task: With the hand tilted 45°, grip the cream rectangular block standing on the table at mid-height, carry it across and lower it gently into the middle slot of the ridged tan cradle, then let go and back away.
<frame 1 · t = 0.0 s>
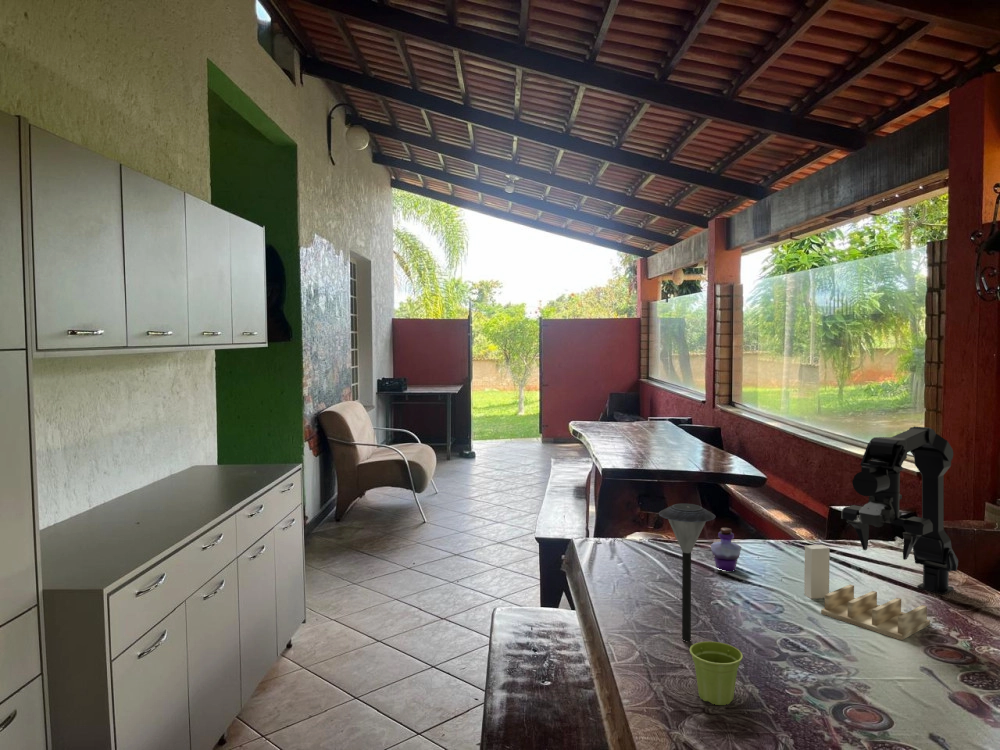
hand: (884, 554, 162), 15 cm above the table, tool pointing down, fingers open, 9 cm apart
plant pot: (715, 698, 125), on the table
solar garden light: (686, 641, 149), on the table
ridged tan cradle: (874, 619, 160), on the table
potion bottle: (725, 569, 196), on the table
cream rectangular block: (816, 596, 174), on the table
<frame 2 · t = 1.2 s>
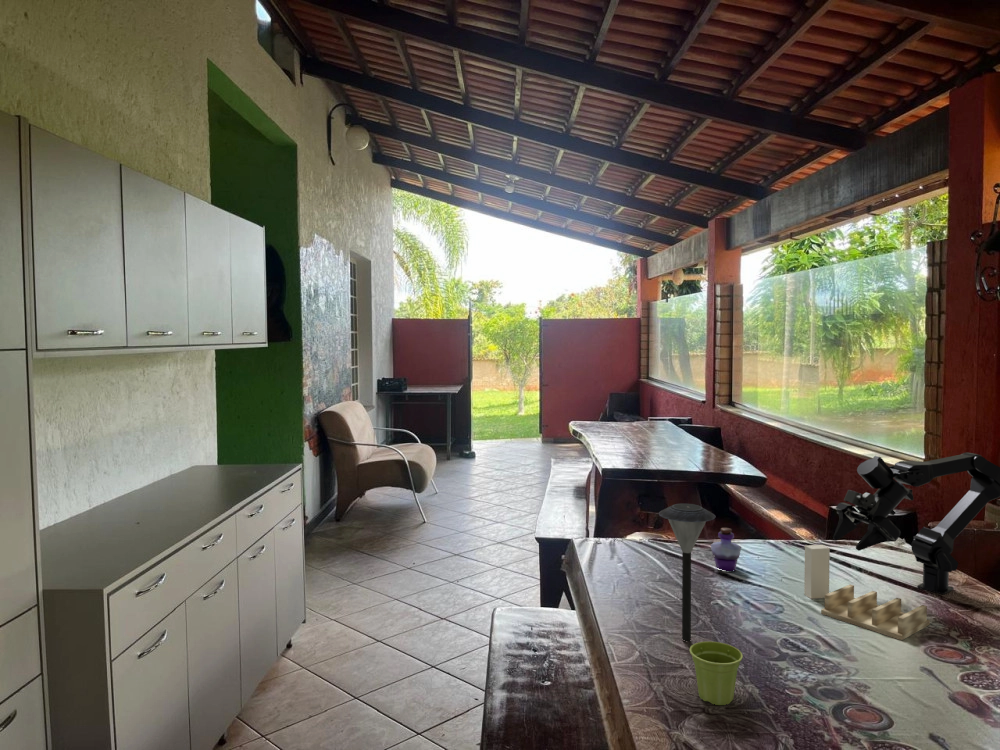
hand: (845, 544, 175), 13 cm above the table, tool tilted 45°, fingers open, 9 cm apart
nothing on the table moved.
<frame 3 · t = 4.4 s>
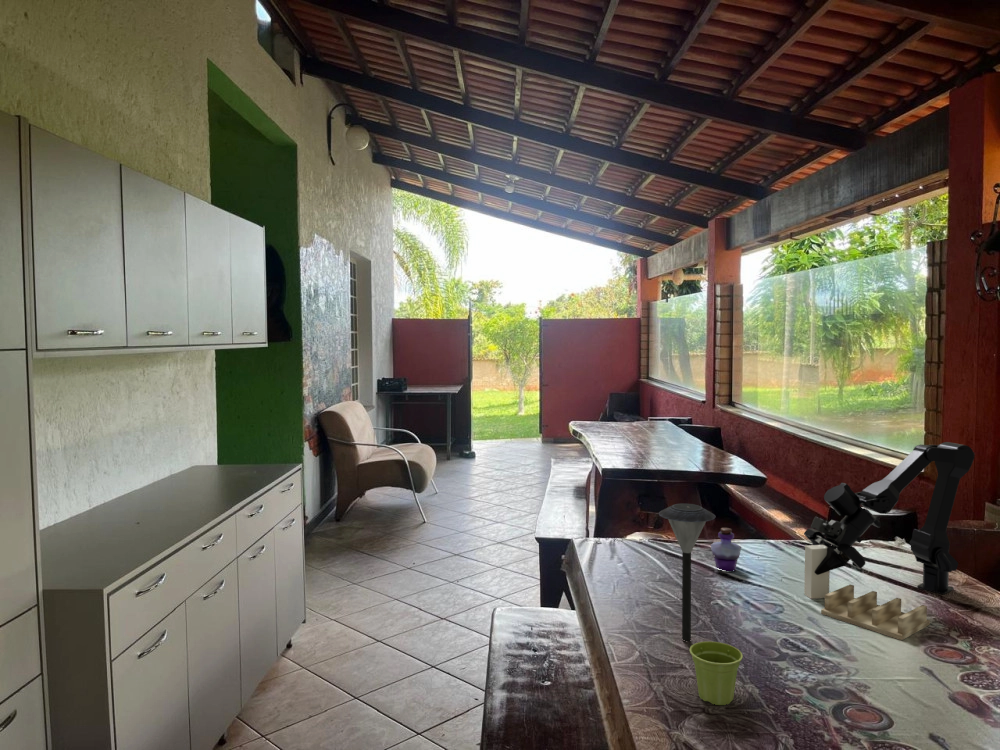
hand: (811, 571, 174), 7 cm above the table, tool tilted 45°, fingers closed on cream rectangular block, 3 cm apart
cream rectangular block: (816, 596, 174), on the table, touching gripper
everything else where it was.
when the fingers open (9 cm above the table, at t = 9.1 s): cream rectangular block drops 1 cm, resting on ridged tan cradle.
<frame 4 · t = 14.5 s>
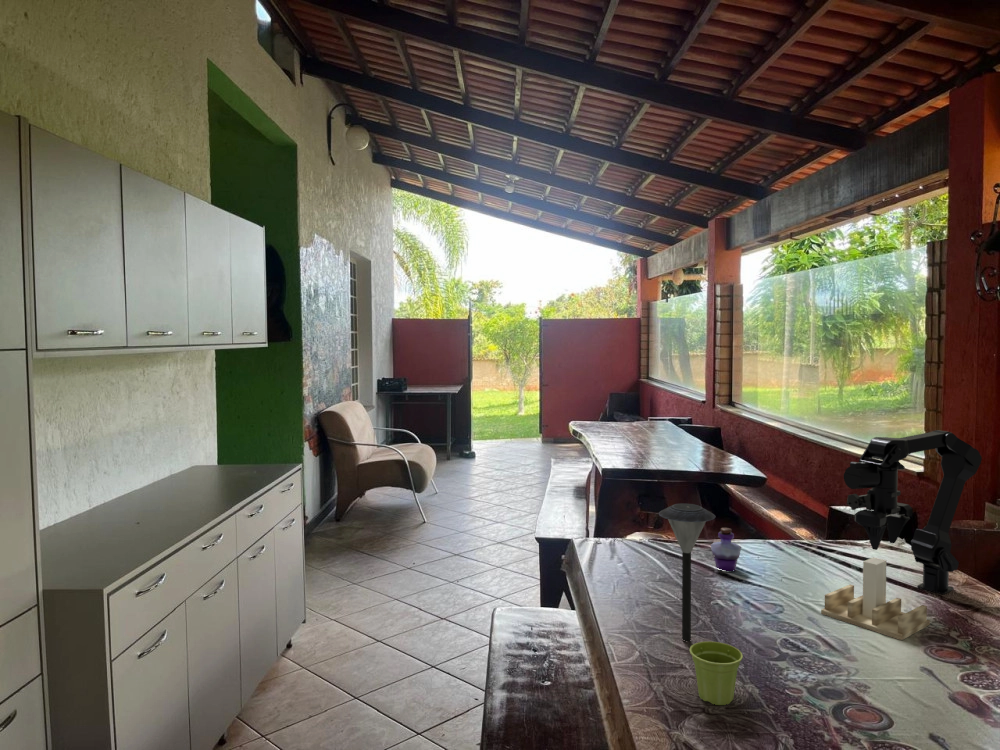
hand: (883, 546, 174), 13 cm above the table, tool pointing down, fingers open, 9 cm apart
cream rectangular block: (874, 614, 160), point 1 cm above the table, touching ridged tan cradle
everything else where it was.
at the end: cream rectangular block 0.1 cm off-centre on the ridged tan cradle, point 1.0 cm above the ridged tan cradle's base; cream rectangular block tilted 0°; the gripper is holding nothing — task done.
